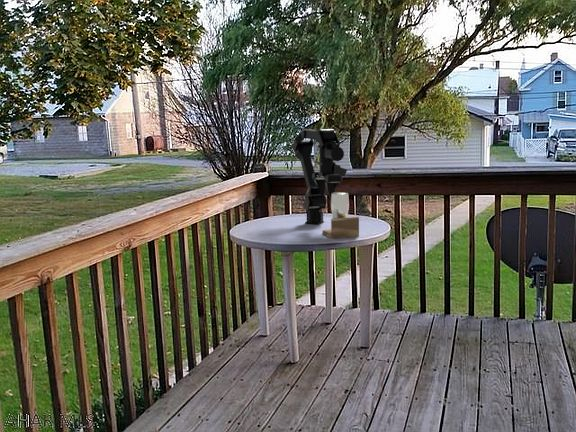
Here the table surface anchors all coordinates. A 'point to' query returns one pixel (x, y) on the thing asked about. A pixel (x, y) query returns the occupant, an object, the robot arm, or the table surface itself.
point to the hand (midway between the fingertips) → (326, 197)
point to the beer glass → (339, 204)
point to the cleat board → (343, 228)
